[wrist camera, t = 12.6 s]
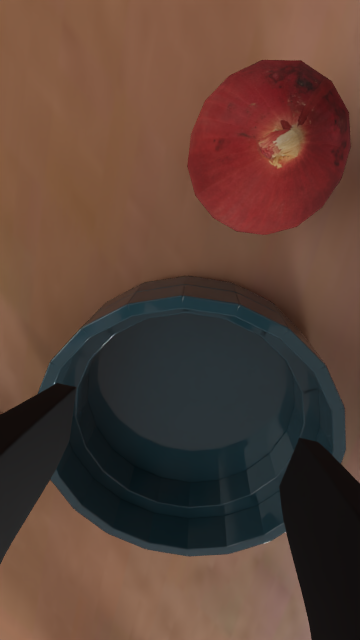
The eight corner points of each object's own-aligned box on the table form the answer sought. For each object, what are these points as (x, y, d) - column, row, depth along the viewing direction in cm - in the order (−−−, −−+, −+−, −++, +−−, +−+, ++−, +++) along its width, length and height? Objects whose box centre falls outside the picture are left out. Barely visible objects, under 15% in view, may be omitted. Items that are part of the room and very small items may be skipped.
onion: (232, 69, 15) (258, -61, 8) (339, 136, 16) (462, 77, 8) (171, 191, 17) (145, 184, 10) (269, 247, 18) (317, 282, 10)
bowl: (38, 436, 23) (0, 490, 19) (123, 226, 18) (98, 234, 14) (237, 521, 24) (244, 590, 20) (369, 348, 19) (416, 391, 15)
